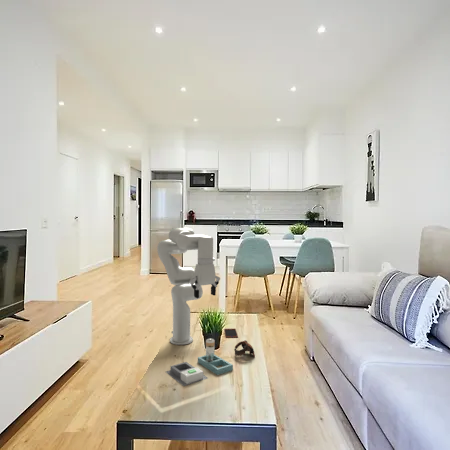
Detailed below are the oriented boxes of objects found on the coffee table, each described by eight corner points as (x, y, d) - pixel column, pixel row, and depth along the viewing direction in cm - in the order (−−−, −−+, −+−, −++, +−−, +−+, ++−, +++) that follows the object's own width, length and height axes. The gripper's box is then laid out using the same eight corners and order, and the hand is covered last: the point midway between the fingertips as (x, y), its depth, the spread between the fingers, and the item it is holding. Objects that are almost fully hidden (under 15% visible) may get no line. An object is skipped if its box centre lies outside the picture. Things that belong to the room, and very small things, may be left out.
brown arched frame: (257, 361, 170) (249, 347, 168) (239, 368, 171) (232, 355, 169) (255, 345, 182) (248, 333, 180) (239, 352, 183) (232, 340, 181)
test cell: (203, 363, 163) (204, 338, 163) (211, 360, 166) (211, 336, 165) (208, 366, 160) (209, 341, 159) (216, 364, 162) (216, 339, 162)
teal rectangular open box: (197, 364, 164) (197, 357, 164) (212, 360, 169) (212, 353, 169) (217, 377, 151) (217, 369, 151) (232, 372, 156) (232, 364, 156)
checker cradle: (165, 374, 154) (165, 364, 154) (188, 367, 161) (188, 357, 161) (183, 389, 141) (183, 377, 141) (208, 380, 148) (208, 370, 148)
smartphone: (225, 337, 200) (224, 328, 215) (225, 338, 200) (224, 329, 215) (238, 336, 200) (235, 328, 215) (238, 338, 200) (235, 329, 215)
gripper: (215, 259, 179) (215, 292, 179) (186, 261, 168) (185, 297, 169) (224, 260, 173) (223, 295, 173) (194, 263, 162) (194, 300, 163)
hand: (205, 296), depth 171 cm, fingers open, 9 cm apart
